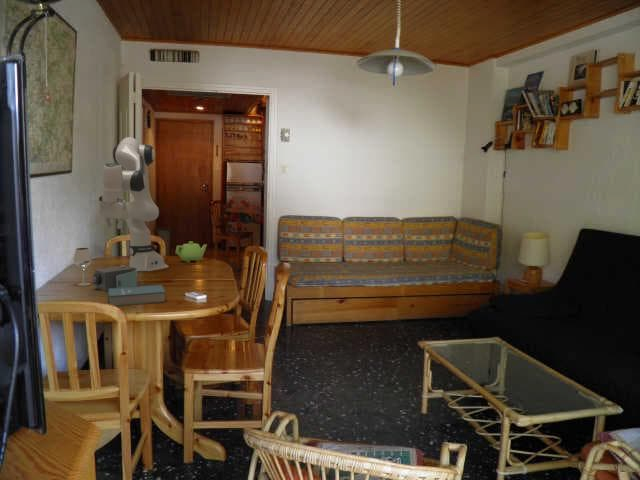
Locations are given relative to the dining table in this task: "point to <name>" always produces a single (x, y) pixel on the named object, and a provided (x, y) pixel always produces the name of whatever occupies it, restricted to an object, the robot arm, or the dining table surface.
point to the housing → (109, 276)
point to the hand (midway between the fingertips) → (114, 227)
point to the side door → (127, 279)
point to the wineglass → (82, 261)
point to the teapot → (191, 252)
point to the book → (136, 295)
